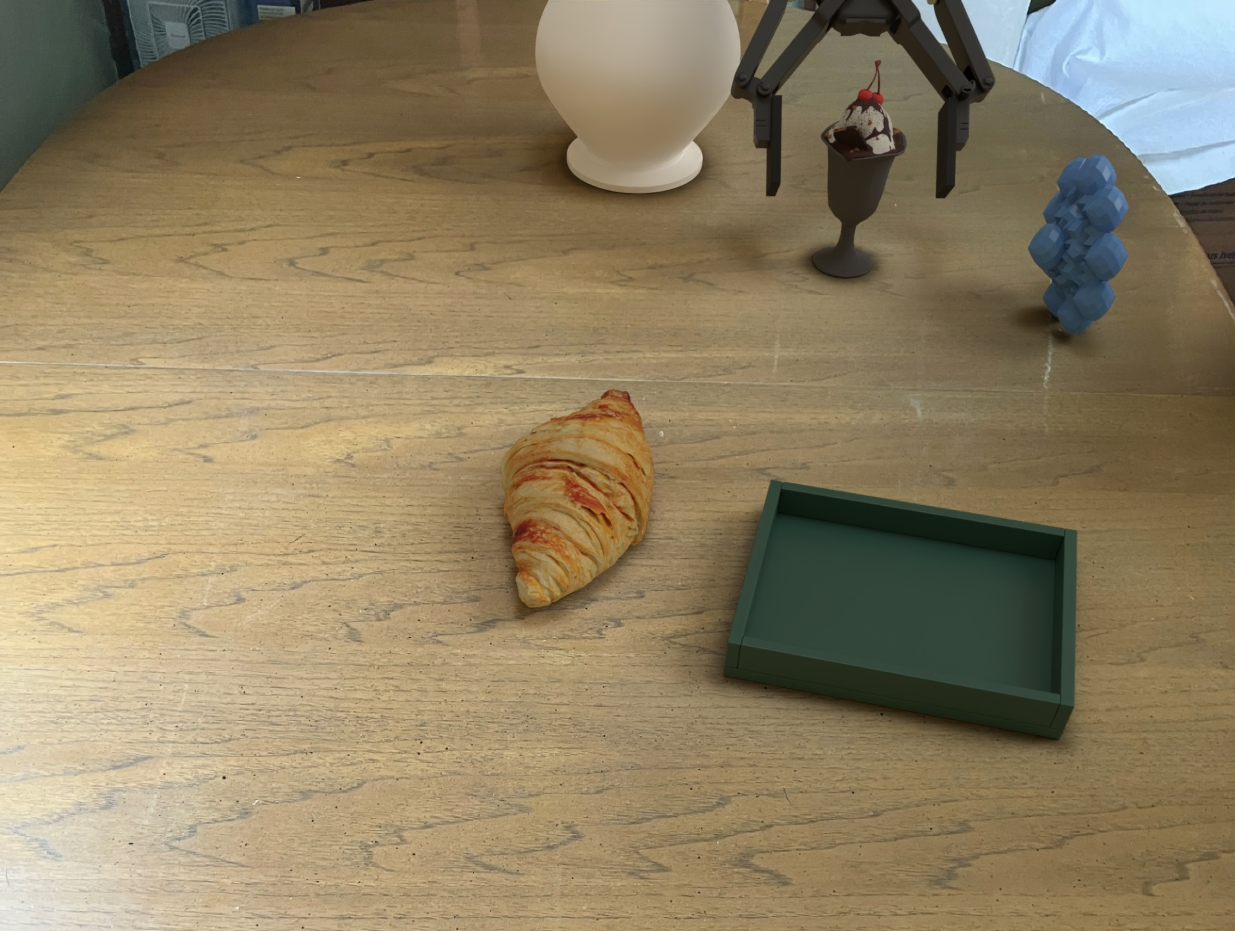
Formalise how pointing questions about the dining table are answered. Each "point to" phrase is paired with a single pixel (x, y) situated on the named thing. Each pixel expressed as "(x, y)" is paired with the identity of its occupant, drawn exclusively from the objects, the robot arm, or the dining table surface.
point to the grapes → (1081, 243)
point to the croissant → (577, 496)
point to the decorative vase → (637, 84)
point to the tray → (910, 608)
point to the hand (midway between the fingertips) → (859, 191)
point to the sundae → (857, 175)
